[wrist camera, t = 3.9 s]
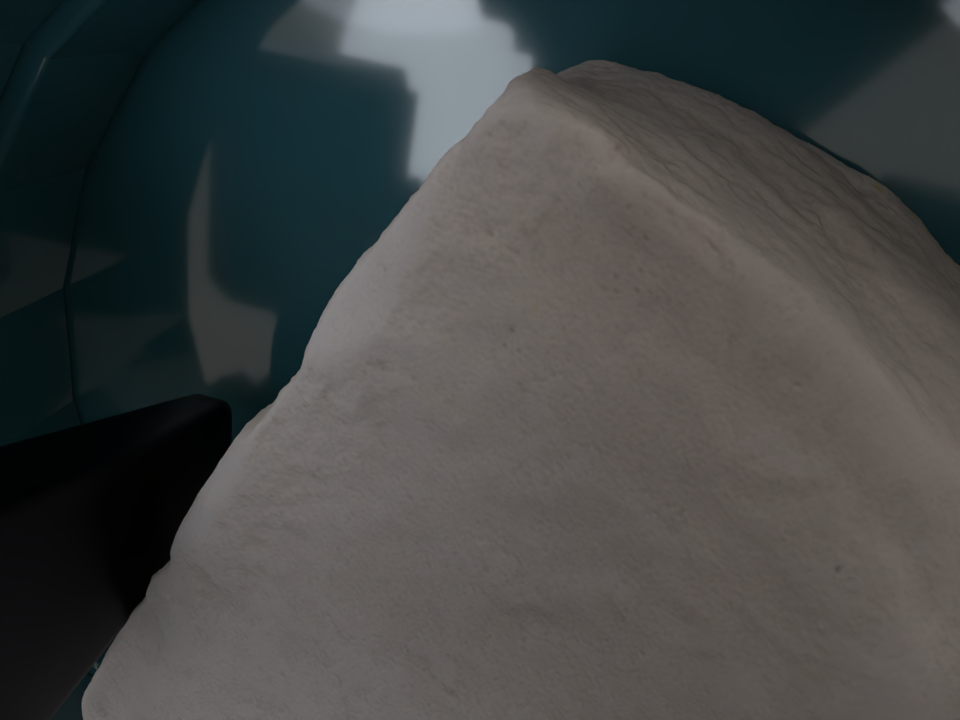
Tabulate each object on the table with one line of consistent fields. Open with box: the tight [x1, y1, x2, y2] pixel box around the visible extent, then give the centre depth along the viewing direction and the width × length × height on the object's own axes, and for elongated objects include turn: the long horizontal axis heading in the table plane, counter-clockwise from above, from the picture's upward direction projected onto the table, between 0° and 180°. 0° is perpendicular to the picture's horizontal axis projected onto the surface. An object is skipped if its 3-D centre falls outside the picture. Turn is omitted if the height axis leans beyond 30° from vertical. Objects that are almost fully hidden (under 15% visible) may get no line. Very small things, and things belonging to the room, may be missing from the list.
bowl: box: [0, 0, 960, 720], centre depth 8 cm, size 14×14×4 cm
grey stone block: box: [81, 60, 960, 720], centre depth 8 cm, size 10×6×6 cm, turn 140°
